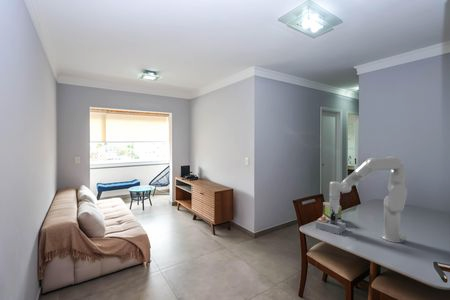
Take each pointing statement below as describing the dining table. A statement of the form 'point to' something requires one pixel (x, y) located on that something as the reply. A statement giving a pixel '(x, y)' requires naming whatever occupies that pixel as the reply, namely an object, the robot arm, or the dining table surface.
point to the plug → (335, 217)
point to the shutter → (323, 219)
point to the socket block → (331, 226)
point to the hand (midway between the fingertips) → (334, 219)
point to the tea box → (327, 212)
